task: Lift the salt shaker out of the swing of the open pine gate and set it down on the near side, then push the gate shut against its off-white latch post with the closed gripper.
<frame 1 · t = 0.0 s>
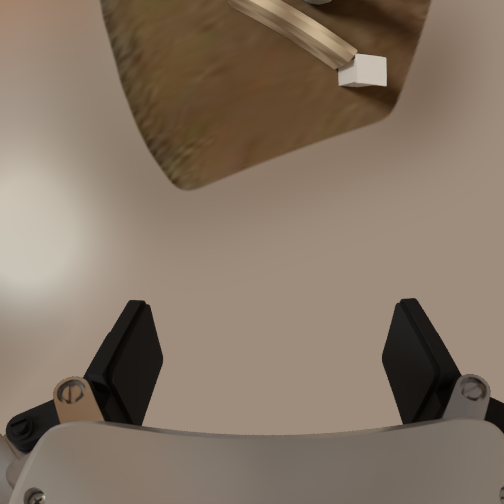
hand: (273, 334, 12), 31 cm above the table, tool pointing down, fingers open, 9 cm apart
gate: (287, 22, 28), point 4 cm above the table, hinge at 55.0°
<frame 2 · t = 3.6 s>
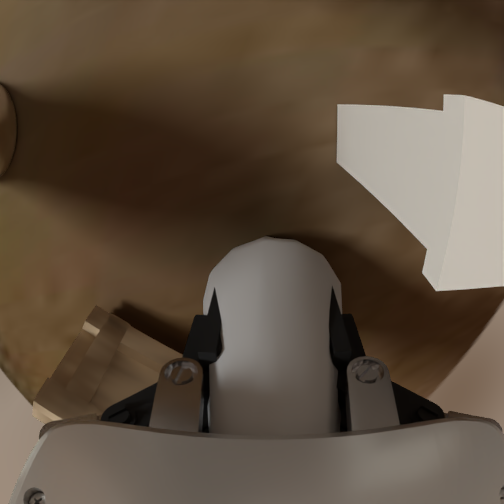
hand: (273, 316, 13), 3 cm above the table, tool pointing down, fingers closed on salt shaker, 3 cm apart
gate: (200, 424, 14), point 4 cm above the table, hinge at 55.0°
salt shaker: (272, 273, 16), on the table, touching gripper
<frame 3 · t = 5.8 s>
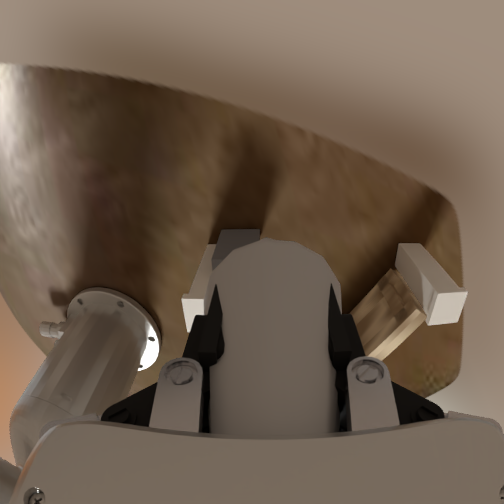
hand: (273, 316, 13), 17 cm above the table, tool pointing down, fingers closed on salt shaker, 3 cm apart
gate: (354, 343, 30), point 4 cm above the table, hinge at 55.0°
salt shaker: (272, 275, 16), point 14 cm above the table, touching gripper
gate posts: (114, 329, 36), on the table
when the fingers open (5 cm above the table, at t = 8.2 s): salt shaker drops 1 cm, on the table.
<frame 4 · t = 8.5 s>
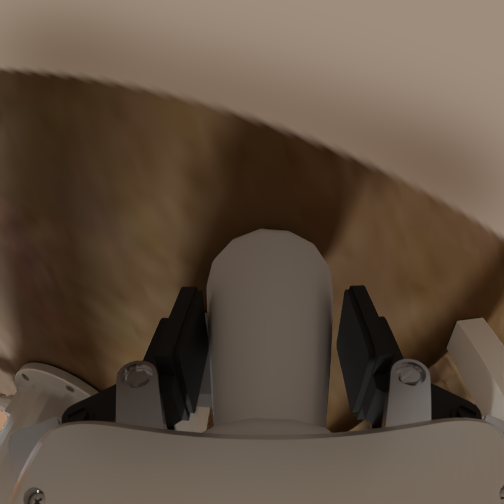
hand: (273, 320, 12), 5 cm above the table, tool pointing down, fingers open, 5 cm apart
gate: (383, 453, 18), point 4 cm above the table, hinge at 55.0°
salt shaker: (269, 263, 17), on the table
gate posts: (71, 407, 25), on the table
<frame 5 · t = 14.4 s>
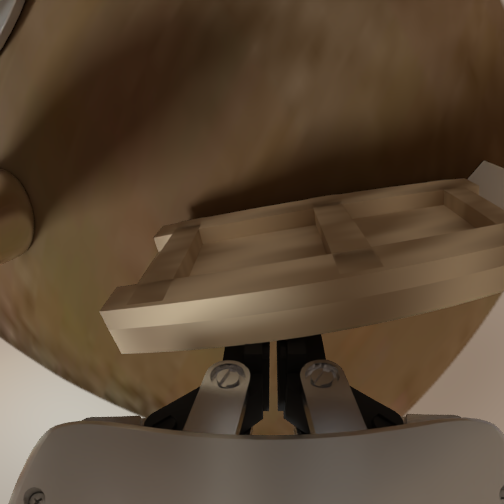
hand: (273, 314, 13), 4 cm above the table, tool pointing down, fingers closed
gate: (339, 245, 11), point 4 cm above the table, hinge at 51.9°, touching gripper
beer glass: (5, 212, 16), on the table
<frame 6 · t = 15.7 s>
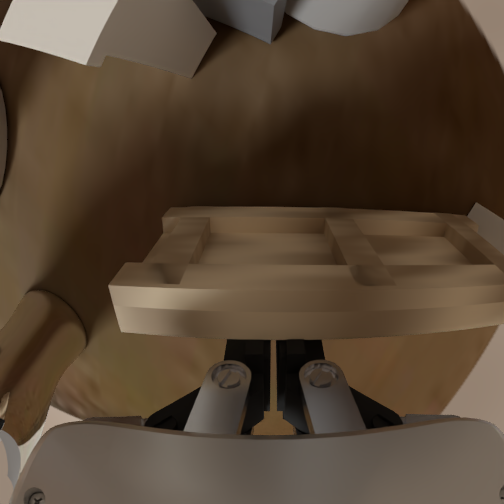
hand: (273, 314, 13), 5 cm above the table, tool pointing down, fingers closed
gate: (347, 257, 12), point 4 cm above the table, hinge at 28.3°, touching gripper
beer glass: (54, 322, 20), on the table
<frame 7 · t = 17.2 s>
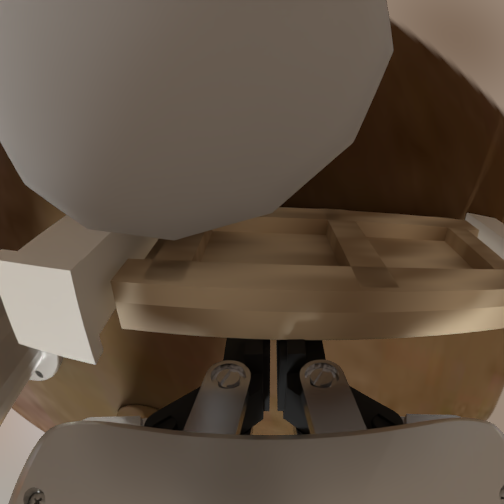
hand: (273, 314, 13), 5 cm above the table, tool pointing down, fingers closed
gate: (349, 259, 12), point 4 cm above the table, hinge at 3.0°, touching gripper
beer glass: (150, 422, 25), on the table
salt shaker: (244, 89, 13), on the table
gate posts: (5, 316, 20), on the table
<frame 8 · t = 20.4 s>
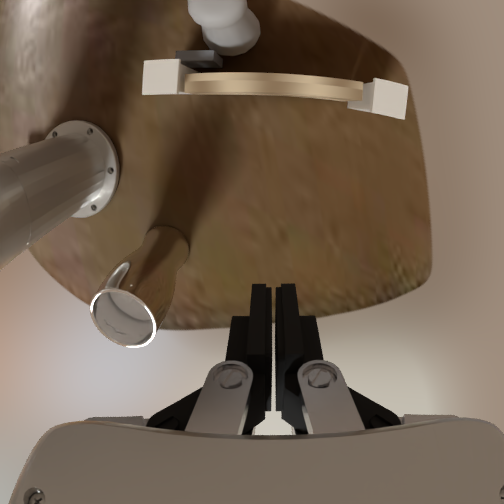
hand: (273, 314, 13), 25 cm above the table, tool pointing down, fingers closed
gate: (273, 85, 27), point 4 cm above the table, hinge at 2.9°
beer glass: (166, 247, 40), on the table
salt shaker: (233, 35, 29), on the table
gate posts: (78, 168, 35), on the table
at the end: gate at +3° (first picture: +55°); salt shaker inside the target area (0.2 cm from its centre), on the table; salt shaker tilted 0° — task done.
